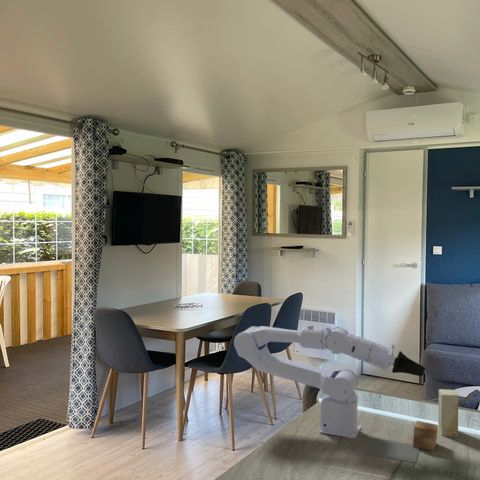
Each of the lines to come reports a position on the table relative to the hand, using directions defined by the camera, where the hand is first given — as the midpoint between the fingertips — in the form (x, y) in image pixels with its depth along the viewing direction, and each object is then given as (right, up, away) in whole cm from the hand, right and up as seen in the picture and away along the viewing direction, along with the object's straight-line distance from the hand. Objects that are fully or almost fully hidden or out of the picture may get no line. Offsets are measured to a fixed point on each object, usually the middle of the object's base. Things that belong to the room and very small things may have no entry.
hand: (423, 372), depth 137 cm
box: (+9, -18, +7) cm, 21 cm away
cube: (0, -18, -1) cm, 18 cm away
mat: (-9, -18, -4) cm, 21 cm away
